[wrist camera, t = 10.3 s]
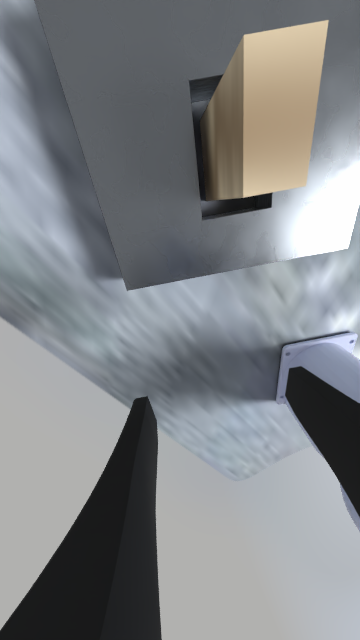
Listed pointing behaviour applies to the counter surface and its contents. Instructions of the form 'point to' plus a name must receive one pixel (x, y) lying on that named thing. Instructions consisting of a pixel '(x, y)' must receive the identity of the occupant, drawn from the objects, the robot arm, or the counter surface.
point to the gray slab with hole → (178, 134)
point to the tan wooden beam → (264, 114)
